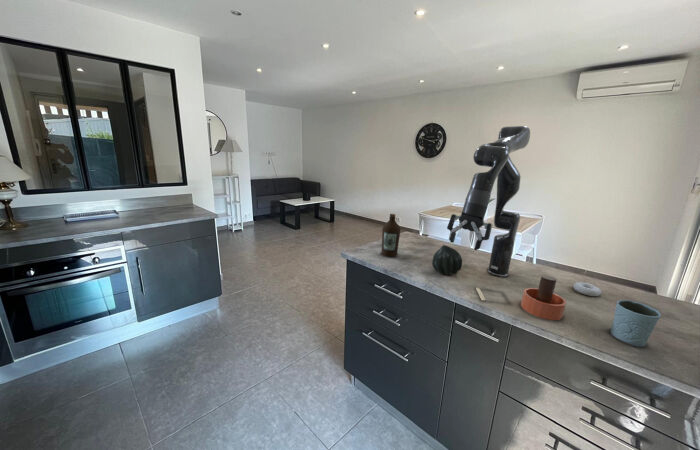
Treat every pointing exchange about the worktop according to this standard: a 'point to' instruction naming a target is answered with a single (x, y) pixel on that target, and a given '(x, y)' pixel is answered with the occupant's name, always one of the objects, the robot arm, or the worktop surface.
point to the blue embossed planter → (634, 322)
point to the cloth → (480, 294)
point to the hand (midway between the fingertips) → (463, 246)
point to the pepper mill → (546, 289)
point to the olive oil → (390, 237)
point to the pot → (543, 305)
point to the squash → (447, 260)
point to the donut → (586, 289)
